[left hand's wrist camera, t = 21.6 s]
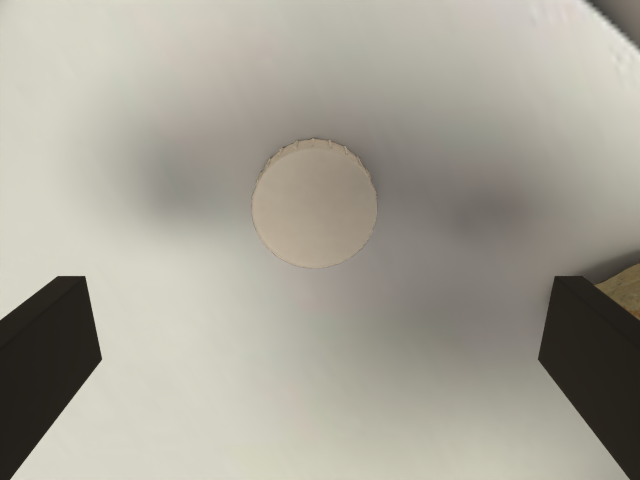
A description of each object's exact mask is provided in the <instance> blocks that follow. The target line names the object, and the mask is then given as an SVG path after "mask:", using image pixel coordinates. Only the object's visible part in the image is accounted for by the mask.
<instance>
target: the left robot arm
mask: <svg viewBox="0 0 640 480" xmlns="http://www.w3.org/2000/svg"><path fill="white" fill-rule="evenodd" d="M101 360H102V357H101V352H100V347H99V342H98V337H97V332H96V327H95V322H94V317H93V312H92V307H91V302H90V297H89V292H88V288H87V283H86V278H85V276H57V277H56V278H55V279H53V280H52V281H51V282H50V283H48V284H47V285H46V286H44V287H43V288H42V289H40V290H39V291H38V292H37V293H35V294H34V295H33V296H31V297H30V298H29V299H27V300H26V301H25V302H23V303H22V304H21V305H20V306H18V307H17V308H16V309H14V310H13V311H12V312H10V313H9V314H8V315H7V316H5V317H4V318H3V319H1V320H0V480H10V479H11V478H12V476H13V475H14V474H15V472H16V471H17V470H18V468H19V467H20V466H21V465H22V463H23V462H24V461H25V459H26V458H27V457H28V455H29V454H30V453H31V452H32V450H33V449H34V448H35V446H36V445H37V444H38V442H39V441H40V440H41V438H42V437H43V436H44V435H45V433H46V432H47V431H48V429H49V428H50V427H51V425H52V424H53V423H54V421H55V420H56V419H57V418H58V416H59V415H60V414H61V412H62V411H63V410H64V408H65V407H66V406H67V405H68V403H69V402H70V401H71V399H72V398H73V397H74V395H75V394H76V393H77V391H78V390H79V389H80V388H81V386H82V385H83V384H84V382H85V381H86V380H87V378H88V377H89V376H90V375H91V373H92V372H93V371H94V369H95V368H96V367H97V365H98V364H99V363H100V361H101ZM538 360H539V361H540V363H541V364H542V365H543V367H544V368H545V369H546V371H547V372H548V373H549V375H550V376H551V377H552V378H553V380H554V381H555V382H556V384H557V385H558V386H559V388H560V389H561V390H562V391H563V393H564V394H565V395H566V397H567V398H568V399H569V401H570V402H571V403H572V405H573V406H574V407H575V408H576V410H577V411H578V412H579V414H580V415H581V416H582V418H583V419H584V420H585V421H586V423H587V424H588V425H589V427H590V428H591V429H592V431H593V432H594V433H595V435H596V436H597V437H598V438H599V440H600V441H601V442H602V444H603V445H604V446H605V448H606V449H607V450H608V452H609V453H610V454H611V455H612V457H613V458H614V459H615V461H616V462H617V463H618V465H619V466H620V467H621V468H622V470H623V471H624V472H625V474H626V475H627V476H628V478H629V479H630V480H640V320H639V319H637V318H636V317H635V316H633V315H632V314H631V313H630V312H628V311H627V310H626V309H624V308H623V307H622V306H620V305H619V304H618V303H617V302H615V301H614V300H613V299H611V298H610V297H609V296H607V295H606V294H605V293H603V292H602V291H601V290H600V289H598V288H597V287H596V286H594V285H593V284H592V283H590V282H589V281H588V280H587V279H585V278H584V277H583V276H555V278H554V283H553V288H552V292H551V297H550V302H549V307H548V312H547V317H546V322H545V327H544V332H543V337H542V342H541V347H540V352H539V357H538Z"/></svg>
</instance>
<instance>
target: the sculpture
mask: <svg viewBox="0 0 640 480" xmlns="http://www.w3.org/2000/svg"><path fill="white" fill-rule="evenodd" d="M594 286H596V287H597V288H598V289H600V290H601V291H602V292H603V293H605V294H606V295H607V296H609V297H610V298H611V299H613V300H614V301H615V302H617V303H618V304H619V305H620V306H622V307H623V308H624V309H626V310H627V311H628V312H630V313H631V314H632V315H633V316H635V317H636V318H637V319H639V320H640V263H638V264H636V265H634V266H632V267H629V268H627V269H625V270H624V271H622V272H621V273H619V274H617V275H616V276H614V277H612V278H610V279H608V280H606V281H604V282H602V283H599V284H595V285H594Z"/></svg>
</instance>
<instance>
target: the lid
mask: <svg viewBox="0 0 640 480" xmlns="http://www.w3.org/2000/svg"><path fill="white" fill-rule="evenodd" d="M370 180H372V178H371V176H370V174H369V172H368V170H367V168H366V169H365V168H364V166H363V165H362V163H361V161H360V159H359V157H358V156H355V155H354V154H353V153H352V152H350V151H349V150H348V149H347V148H346V146H344V147H343V146H341V145H339V144H336V143H334V142H331V140H328V141H326V140H320V139H314V138H312V139H310V140H303V141H299V142H298V140H297V141H295V143H293V144H290V145H288V146H287V147H285V148H283V147H282V148H281V149H280V151H279V152H278V153H276V154H275V155H274V156H273V157H272V158H269V160H268V162H267V164H266V166H265V169H264V170H263V171H261V172H260V174H259V176H258V178H257V180H256V183H257V185H256V188H255V190H254V193H253V195H252V218H253V223H254V226H255V229H256V231H257V233H258V236H259V237H260V239H261V240H262V242H263V243H264V244H265V246H266V247H267V248H268V249H269V250H270V251H271V252H272V253H273V254H275V255H276V256H277V257H279V258H280V259H282V260H284V261H286V262H288V263H290V264H293V265H296V266H300V267H305V268H325V267H330V266H334V265H336V264H339V263H341V262H344V261H346V260H347V259H349V258H350V257H352V256H353V255H355V254H356V253H357V252H358V251H359V250H360V249H361V248H362V247H363V246H364V245H365V243H366V242H367V241H368V239H369V238H370V236H371V234H372V232H373V229H374V226H375V223H376V219H377V212H378V209H377V199H376V196H377V193H376V190H375V188H374V186H373V184H372V183H371V181H370Z"/></svg>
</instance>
